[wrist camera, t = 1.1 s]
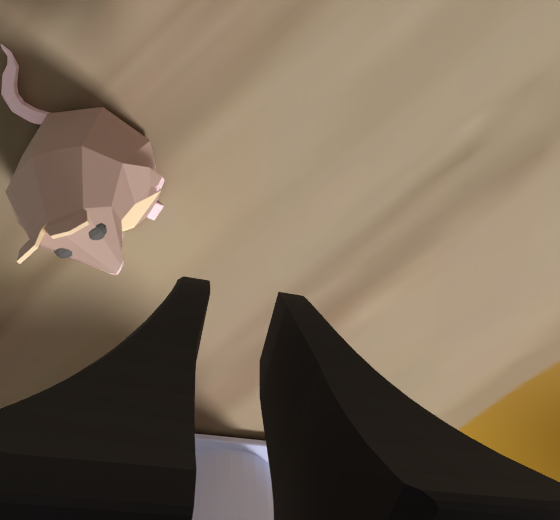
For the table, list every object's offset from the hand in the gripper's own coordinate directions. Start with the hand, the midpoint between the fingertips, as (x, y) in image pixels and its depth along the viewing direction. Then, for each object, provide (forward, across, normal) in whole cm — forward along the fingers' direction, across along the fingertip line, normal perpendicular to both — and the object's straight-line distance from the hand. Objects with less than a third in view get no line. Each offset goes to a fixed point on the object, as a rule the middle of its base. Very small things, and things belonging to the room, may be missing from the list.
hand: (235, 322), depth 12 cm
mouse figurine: (+10, +6, -1) cm, 12 cm away
